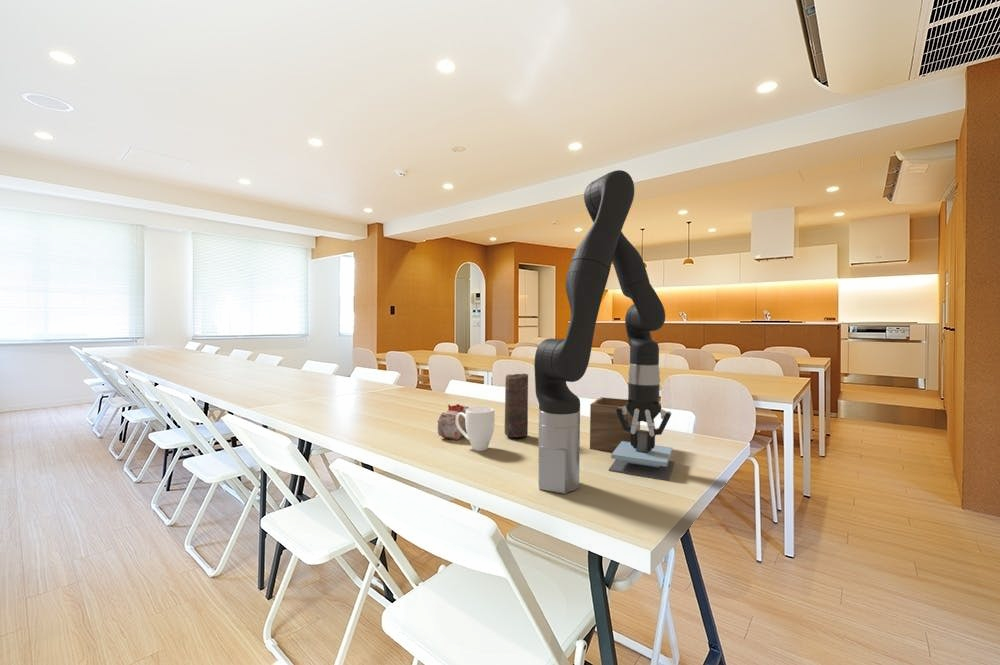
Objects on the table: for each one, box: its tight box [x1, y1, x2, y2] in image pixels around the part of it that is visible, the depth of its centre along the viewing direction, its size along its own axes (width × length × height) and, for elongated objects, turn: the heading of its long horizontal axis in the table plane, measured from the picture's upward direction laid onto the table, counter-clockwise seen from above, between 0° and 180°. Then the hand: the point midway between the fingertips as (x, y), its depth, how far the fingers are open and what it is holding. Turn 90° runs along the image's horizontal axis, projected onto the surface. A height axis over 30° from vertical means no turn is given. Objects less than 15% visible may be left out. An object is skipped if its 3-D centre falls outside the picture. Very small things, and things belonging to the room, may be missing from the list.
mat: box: [608, 459, 675, 481], centre depth 112 cm, size 14×14×1 cm
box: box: [589, 396, 641, 453], centre depth 129 cm, size 12×12×13 cm
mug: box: [455, 406, 496, 452], centre depth 127 cm, size 12×8×11 cm
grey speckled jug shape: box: [437, 403, 470, 441], centre depth 141 cm, size 14×8×10 cm, turn 166°
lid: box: [610, 429, 673, 467], centre depth 112 cm, size 13×13×7 cm
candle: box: [504, 373, 529, 438], centre depth 138 cm, size 8×7×20 cm
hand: (642, 448), depth 112 cm, fingers closed on lid, 3 cm apart
